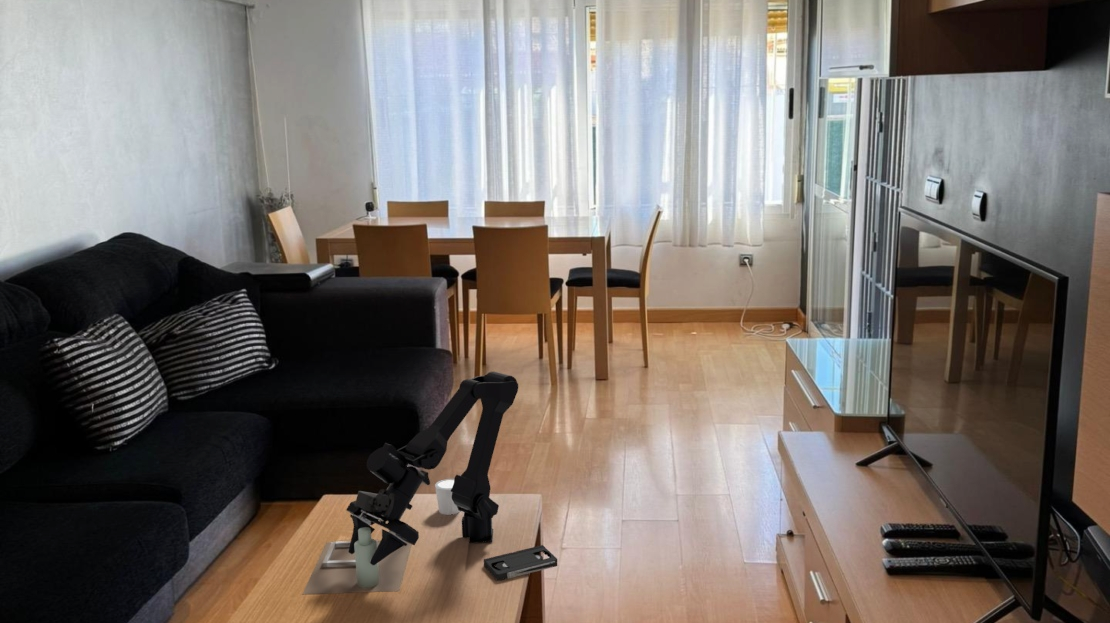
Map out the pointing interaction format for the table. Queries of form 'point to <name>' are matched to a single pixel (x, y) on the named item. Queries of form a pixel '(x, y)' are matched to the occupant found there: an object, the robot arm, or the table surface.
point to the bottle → (366, 559)
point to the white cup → (445, 497)
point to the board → (354, 571)
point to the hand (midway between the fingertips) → (360, 558)
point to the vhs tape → (519, 563)
